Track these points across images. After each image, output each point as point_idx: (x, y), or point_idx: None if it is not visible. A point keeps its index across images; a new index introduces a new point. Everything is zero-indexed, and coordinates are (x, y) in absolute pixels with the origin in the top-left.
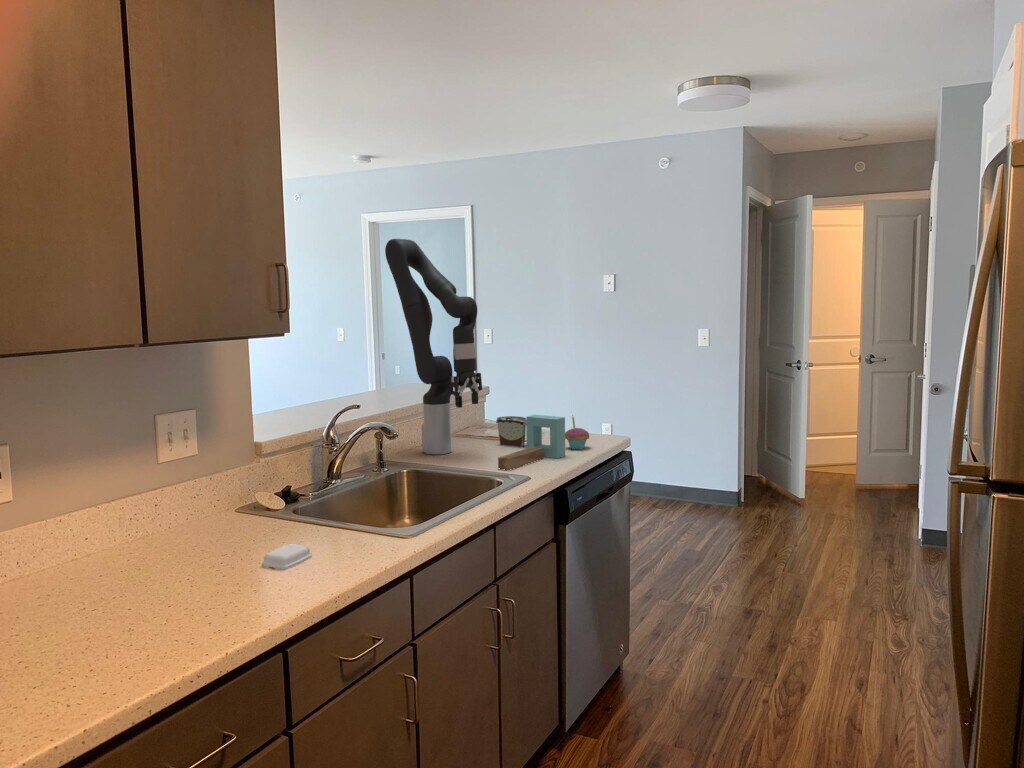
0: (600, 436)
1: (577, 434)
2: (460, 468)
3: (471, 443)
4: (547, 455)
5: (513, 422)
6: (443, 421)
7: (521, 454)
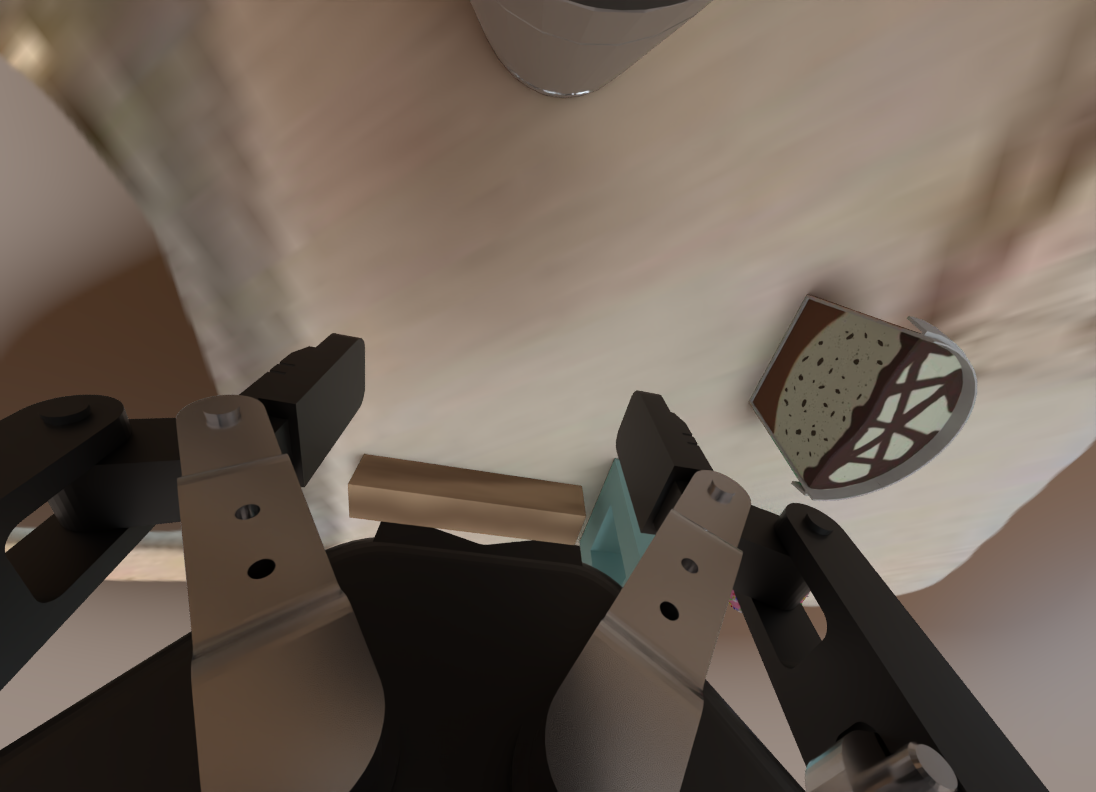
0: (945, 550)
1: (730, 601)
2: (286, 331)
3: (878, 97)
4: (590, 523)
5: (841, 434)
6: (503, 28)
7: (435, 526)
